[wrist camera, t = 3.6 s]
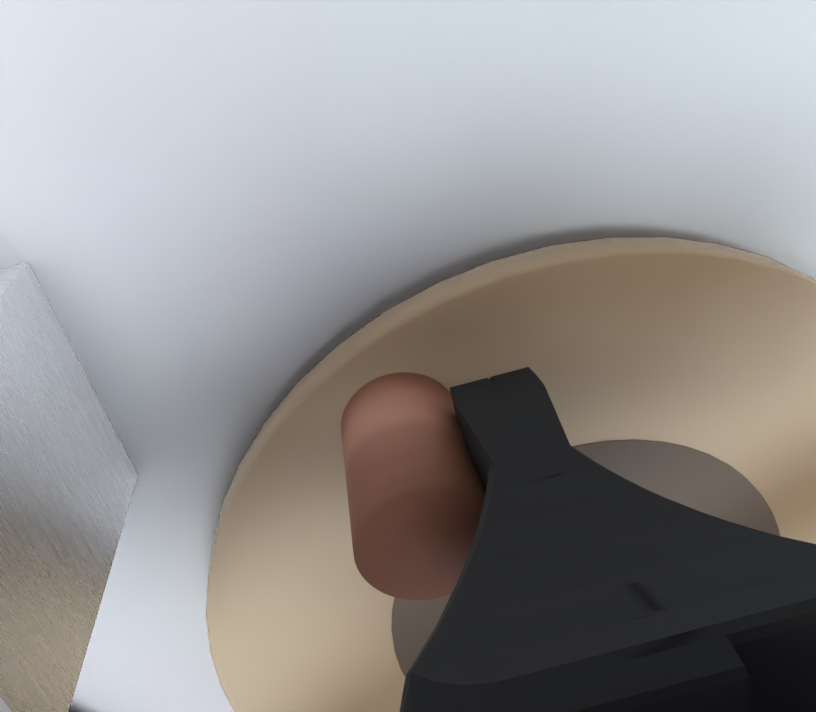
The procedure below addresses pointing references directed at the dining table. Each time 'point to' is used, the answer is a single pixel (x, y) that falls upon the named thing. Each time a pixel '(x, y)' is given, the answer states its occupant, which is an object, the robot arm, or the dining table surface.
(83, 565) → the grey block
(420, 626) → the turntable
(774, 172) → the dining table surface
